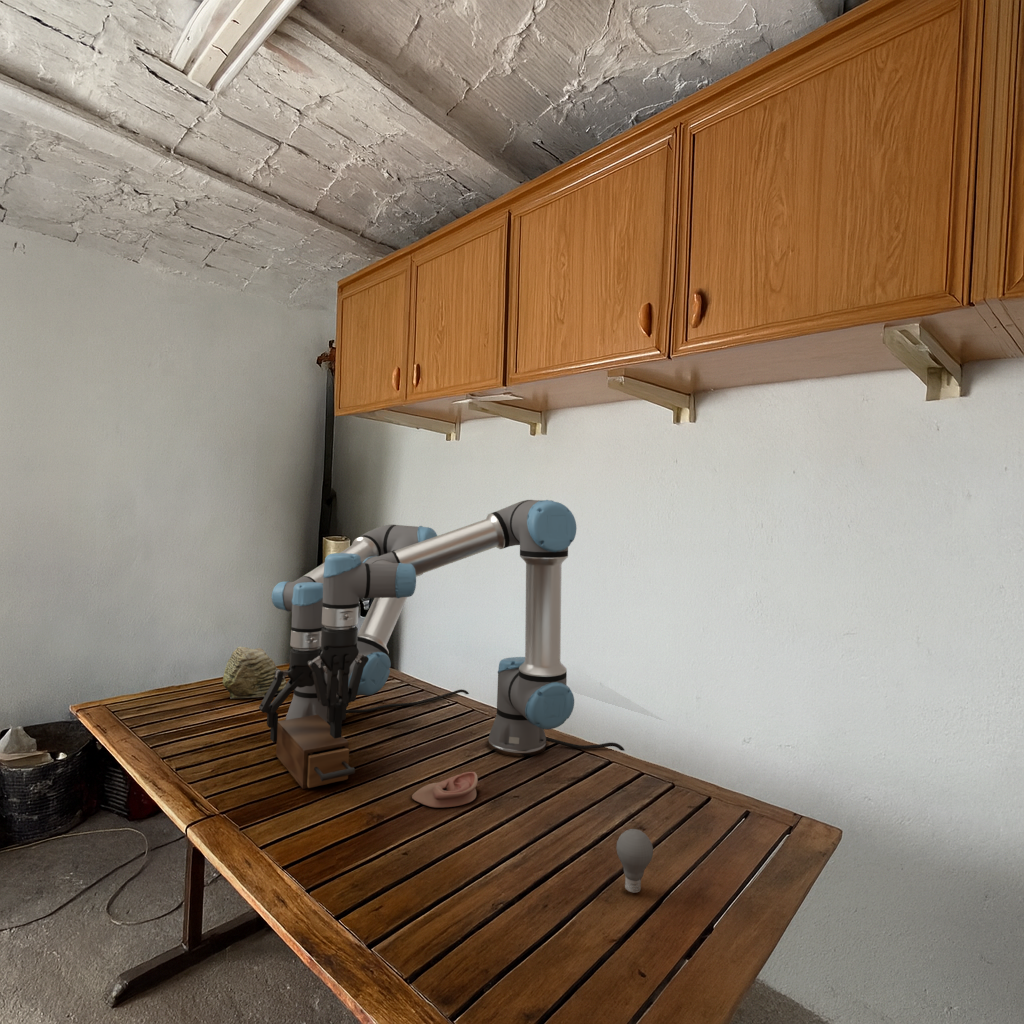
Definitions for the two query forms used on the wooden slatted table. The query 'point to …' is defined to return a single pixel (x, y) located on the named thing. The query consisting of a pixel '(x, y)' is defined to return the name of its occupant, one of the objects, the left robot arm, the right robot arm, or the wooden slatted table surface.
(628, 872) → the light bulb
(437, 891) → the wooden slatted table surface
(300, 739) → the cabinet
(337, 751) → the drawer
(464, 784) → the anatomical model
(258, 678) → the fossil
